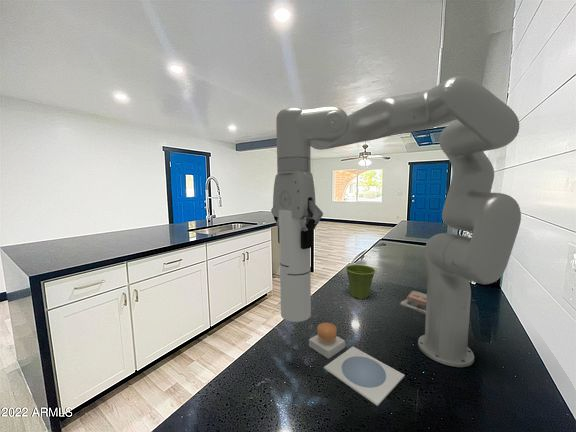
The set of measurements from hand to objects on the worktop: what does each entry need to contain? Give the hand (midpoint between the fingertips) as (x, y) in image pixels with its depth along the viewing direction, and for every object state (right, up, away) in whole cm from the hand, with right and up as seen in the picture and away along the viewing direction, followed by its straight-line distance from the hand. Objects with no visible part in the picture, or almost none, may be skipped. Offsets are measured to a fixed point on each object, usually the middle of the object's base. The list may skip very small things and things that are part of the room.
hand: (294, 244), depth 57 cm
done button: (+9, -26, +10) cm, 29 cm away
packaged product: (+50, -28, +32) cm, 65 cm away
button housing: (+9, -29, +11) cm, 33 cm away
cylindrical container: (0, -17, +2) cm, 17 cm away
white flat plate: (+16, -30, +1) cm, 34 cm away
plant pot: (+28, -26, +44) cm, 58 cm away
